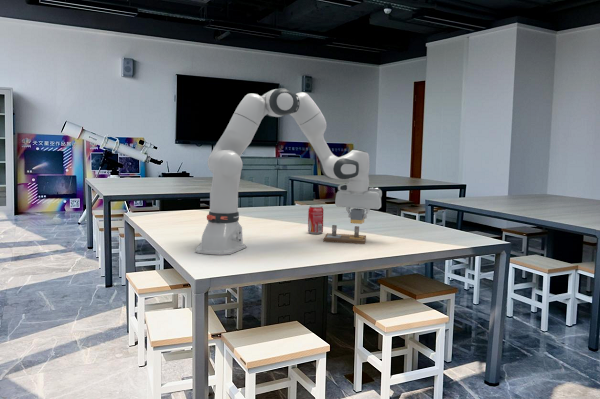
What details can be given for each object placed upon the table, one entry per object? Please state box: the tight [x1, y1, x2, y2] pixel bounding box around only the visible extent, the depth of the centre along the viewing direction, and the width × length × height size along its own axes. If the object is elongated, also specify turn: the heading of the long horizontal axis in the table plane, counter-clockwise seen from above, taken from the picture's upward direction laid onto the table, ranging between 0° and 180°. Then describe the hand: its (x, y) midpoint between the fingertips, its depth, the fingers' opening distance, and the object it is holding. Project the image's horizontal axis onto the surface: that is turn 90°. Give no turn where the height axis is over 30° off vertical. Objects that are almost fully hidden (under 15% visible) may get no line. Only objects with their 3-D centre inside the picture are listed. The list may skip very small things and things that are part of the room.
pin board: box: [322, 224, 367, 245], centre depth 222 cm, size 14×18×6 cm
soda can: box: [307, 204, 324, 235], centre depth 236 cm, size 7×7×13 cm
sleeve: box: [350, 208, 366, 225], centre depth 221 cm, size 5×5×6 cm
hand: (357, 217), depth 221 cm, fingers closed on sleeve, 5 cm apart
